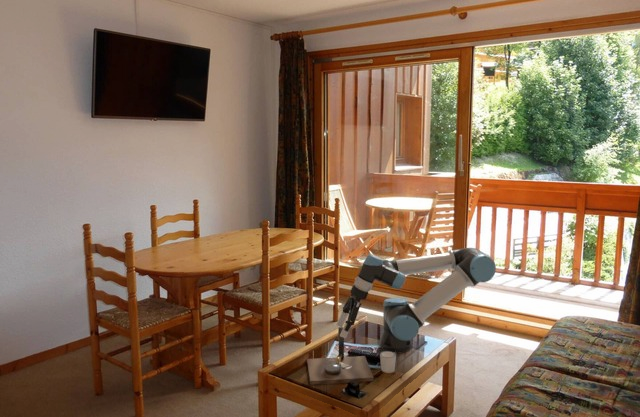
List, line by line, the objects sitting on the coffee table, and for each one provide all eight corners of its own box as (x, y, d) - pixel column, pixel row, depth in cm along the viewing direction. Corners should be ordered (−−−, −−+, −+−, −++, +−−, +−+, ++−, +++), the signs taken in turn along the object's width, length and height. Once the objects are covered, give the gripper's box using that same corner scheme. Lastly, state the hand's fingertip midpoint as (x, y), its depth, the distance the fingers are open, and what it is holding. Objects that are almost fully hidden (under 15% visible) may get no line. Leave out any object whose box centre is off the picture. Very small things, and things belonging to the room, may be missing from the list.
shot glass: (376, 367, 211) (376, 352, 210) (390, 364, 213) (390, 349, 212) (385, 374, 204) (385, 359, 203) (399, 371, 207) (399, 356, 206)
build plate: (335, 394, 191) (334, 382, 190) (344, 386, 197) (344, 375, 196) (363, 402, 184) (363, 391, 183) (372, 394, 190) (371, 382, 189)
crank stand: (364, 359, 219) (364, 355, 219) (373, 380, 199) (373, 376, 199) (307, 362, 217) (307, 358, 216) (310, 384, 197) (310, 380, 197)
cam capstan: (338, 375, 200) (338, 343, 198) (322, 372, 202) (321, 340, 200) (349, 358, 216) (349, 328, 214) (334, 356, 218) (334, 326, 216)
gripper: (349, 277, 225) (330, 318, 227) (357, 293, 200) (335, 338, 202) (364, 283, 226) (345, 324, 227) (373, 300, 201) (352, 345, 203)
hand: (340, 331), depth 215 cm, fingers open, 13 cm apart
